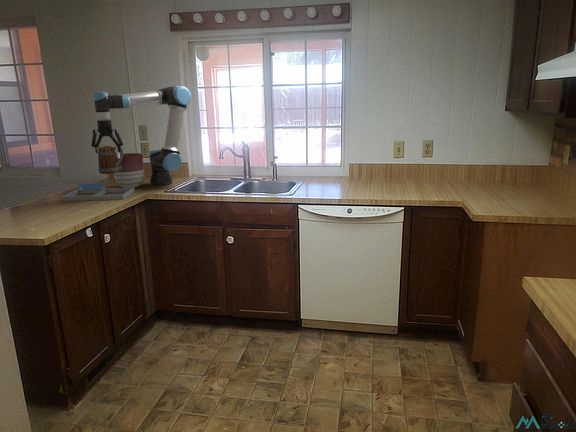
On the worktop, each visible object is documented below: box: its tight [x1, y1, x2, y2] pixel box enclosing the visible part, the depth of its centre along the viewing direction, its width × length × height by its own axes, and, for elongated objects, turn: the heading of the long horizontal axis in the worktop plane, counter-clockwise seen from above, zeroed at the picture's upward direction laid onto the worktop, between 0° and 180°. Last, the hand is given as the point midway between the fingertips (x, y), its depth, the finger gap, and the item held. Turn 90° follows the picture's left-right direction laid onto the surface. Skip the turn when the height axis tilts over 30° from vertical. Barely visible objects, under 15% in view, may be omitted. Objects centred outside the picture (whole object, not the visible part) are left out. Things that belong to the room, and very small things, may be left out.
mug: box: [97, 145, 124, 175], centre depth 250 cm, size 16×11×15 cm
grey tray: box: [60, 182, 135, 202], centre depth 255 cm, size 35×22×6 cm, turn 92°
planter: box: [113, 152, 145, 189], centre depth 275 cm, size 20×20×21 cm
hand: (109, 158), depth 250 cm, fingers closed on mug, 10 cm apart
